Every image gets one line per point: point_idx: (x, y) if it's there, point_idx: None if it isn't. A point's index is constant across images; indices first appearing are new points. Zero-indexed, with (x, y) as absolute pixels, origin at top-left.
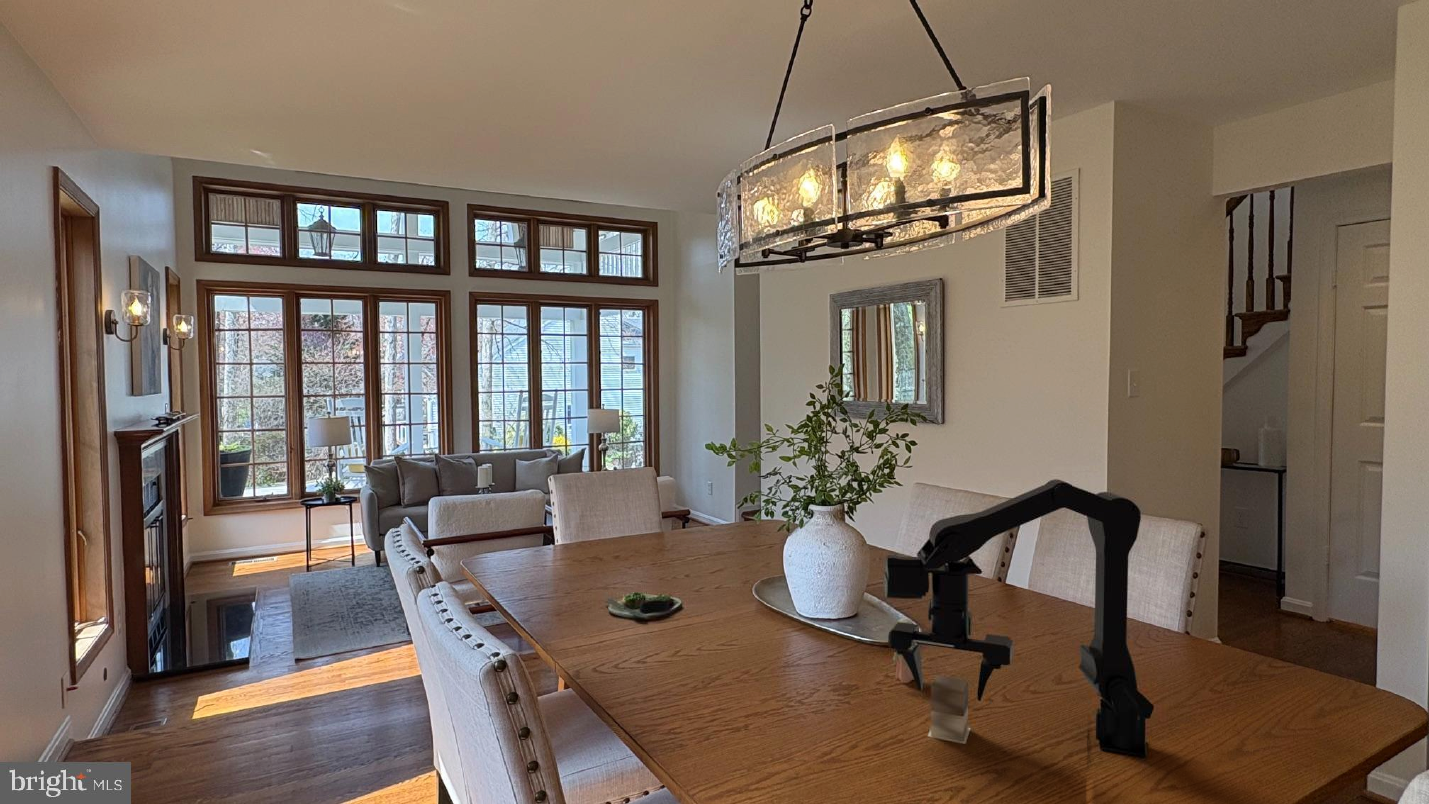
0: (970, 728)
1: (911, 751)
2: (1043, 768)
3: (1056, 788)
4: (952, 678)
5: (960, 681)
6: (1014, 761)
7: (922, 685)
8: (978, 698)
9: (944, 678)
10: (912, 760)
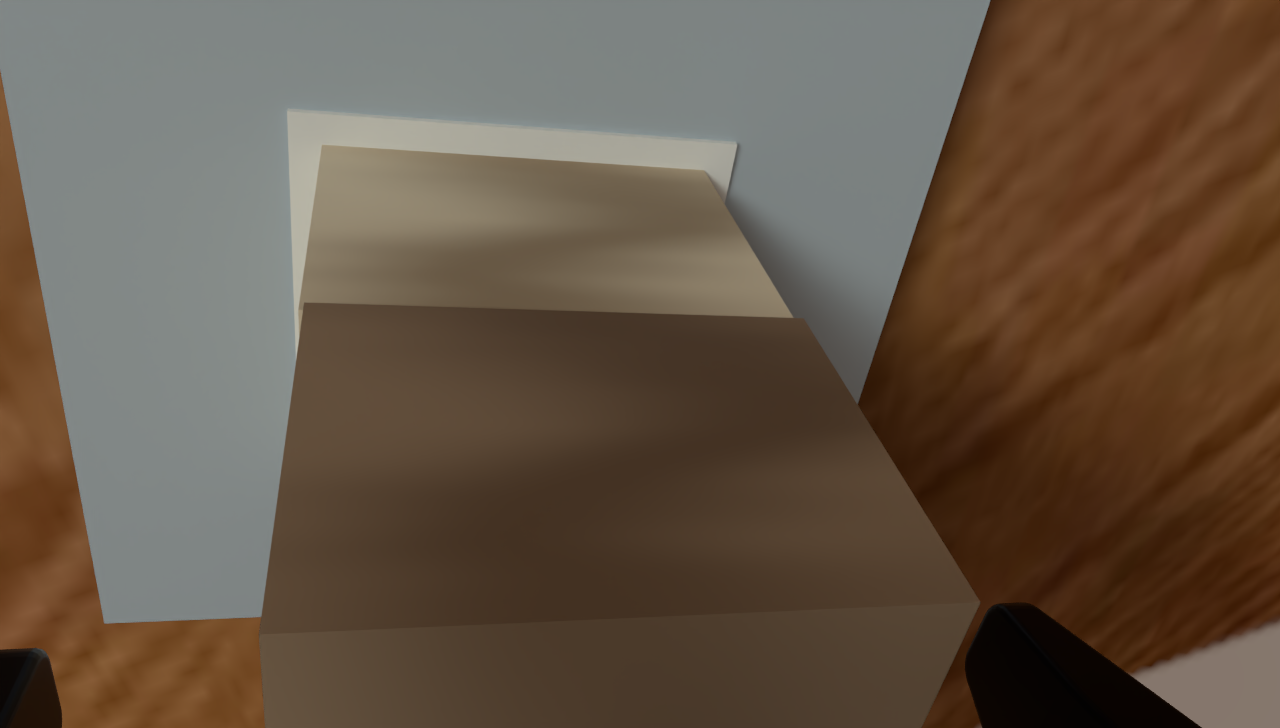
0: (735, 158)
1: (212, 628)
2: (1176, 477)
3: (1152, 643)
4: (652, 654)
5: (810, 702)
6: (1009, 466)
7: (26, 702)
8: (985, 712)
9: (476, 721)
10: (262, 724)
